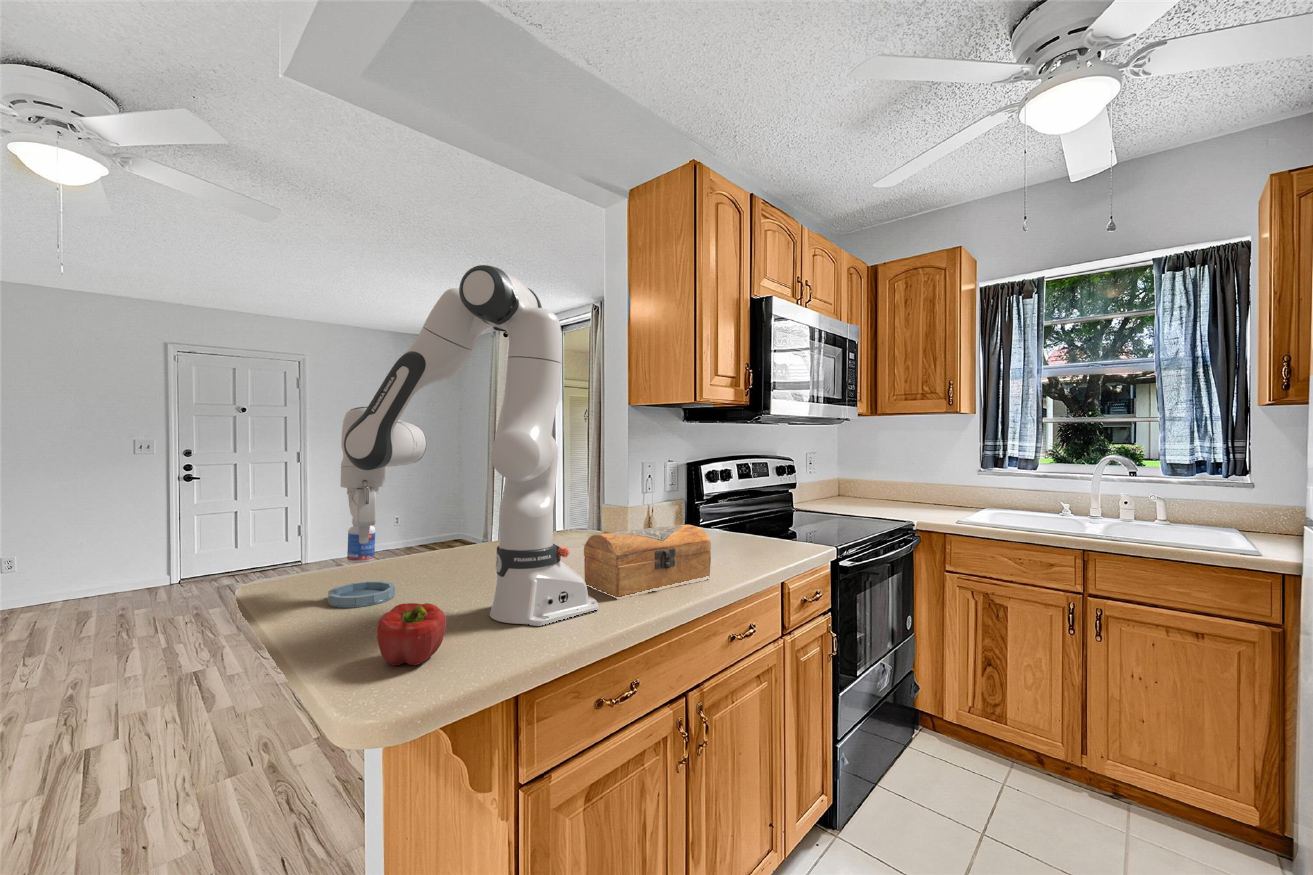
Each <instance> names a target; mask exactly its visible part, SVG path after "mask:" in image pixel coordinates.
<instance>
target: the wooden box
mask: <svg viewBox="0 0 1313 875" xmlns="http://www.w3.org/2000/svg"><path fill="white" fill-rule="evenodd" d="M711 546H712V545H711V539H710V538H709V535H708V534H707V533H706V531H704V529H702V528H701V527H698V526H695V525H692V524H678V525H668V526H666V525H665V526H658V527H657V526H656V527H650V528H638V529H631V530H630V529H629V530H623V531H621V530H620V531H616V532H609V533H602V534H593V535H591V536H589V537H588V538H587V541H586V542H585V544H584V545H583V556H584V560H583V562H584V567H583V568H584V580H585V583H586V585H589V586H592V587H593V588H596V589H597V590H601V591H602V592H606V593H607V594H610V595H613V596H615V597H622V596H625V595H630V594H635V593H637V592H642V591H645V590H650V589H653V588H659V587H662V586H667V585H672V584H675V583H681V582H684V581H689V580H692V579H697V578H703V577H706V576H709V577H710V574H711V563H712V562H711V560H712V557H711V556H712V553H711V552H712V550H711V549H712V548H711Z"/></svg>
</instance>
